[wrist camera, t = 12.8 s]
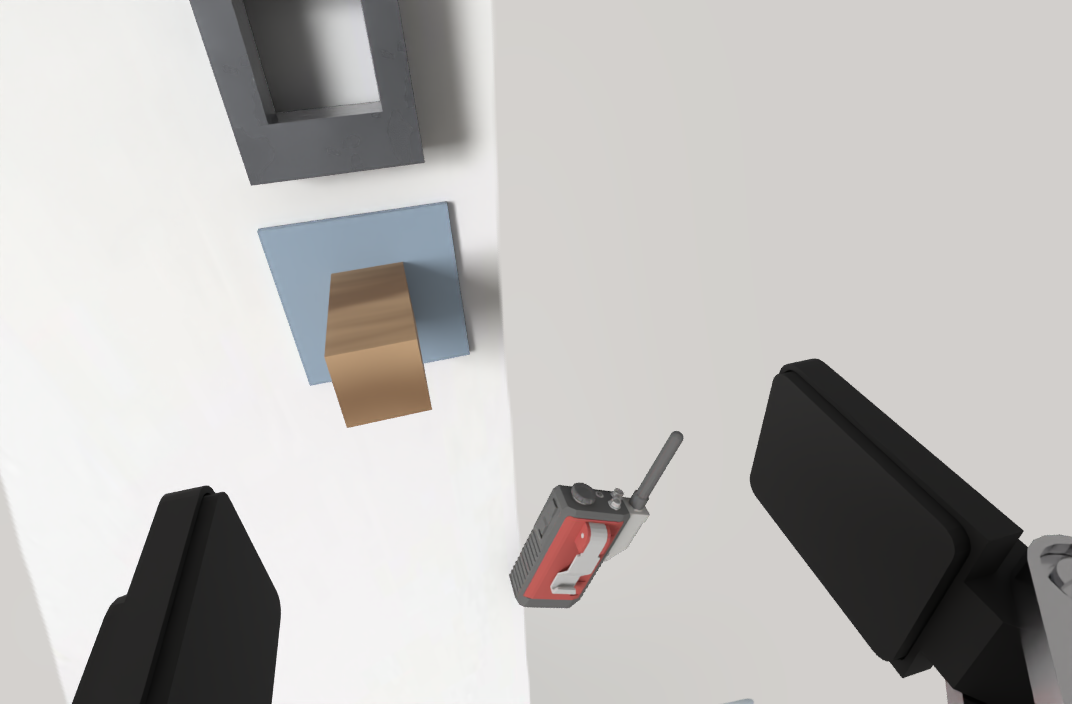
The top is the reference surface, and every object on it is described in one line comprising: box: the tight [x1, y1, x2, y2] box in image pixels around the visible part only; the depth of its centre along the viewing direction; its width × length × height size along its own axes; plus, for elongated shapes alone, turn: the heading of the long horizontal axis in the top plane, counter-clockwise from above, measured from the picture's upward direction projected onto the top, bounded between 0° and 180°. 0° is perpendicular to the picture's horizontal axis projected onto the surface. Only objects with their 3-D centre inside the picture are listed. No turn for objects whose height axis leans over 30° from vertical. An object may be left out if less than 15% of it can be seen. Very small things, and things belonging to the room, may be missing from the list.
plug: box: [324, 262, 432, 428], centre depth 30 cm, size 4×4×9 cm
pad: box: [257, 202, 470, 386], centre depth 34 cm, size 10×10×1 cm
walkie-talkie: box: [509, 431, 683, 608], centre depth 48 cm, size 9×4×20 cm
